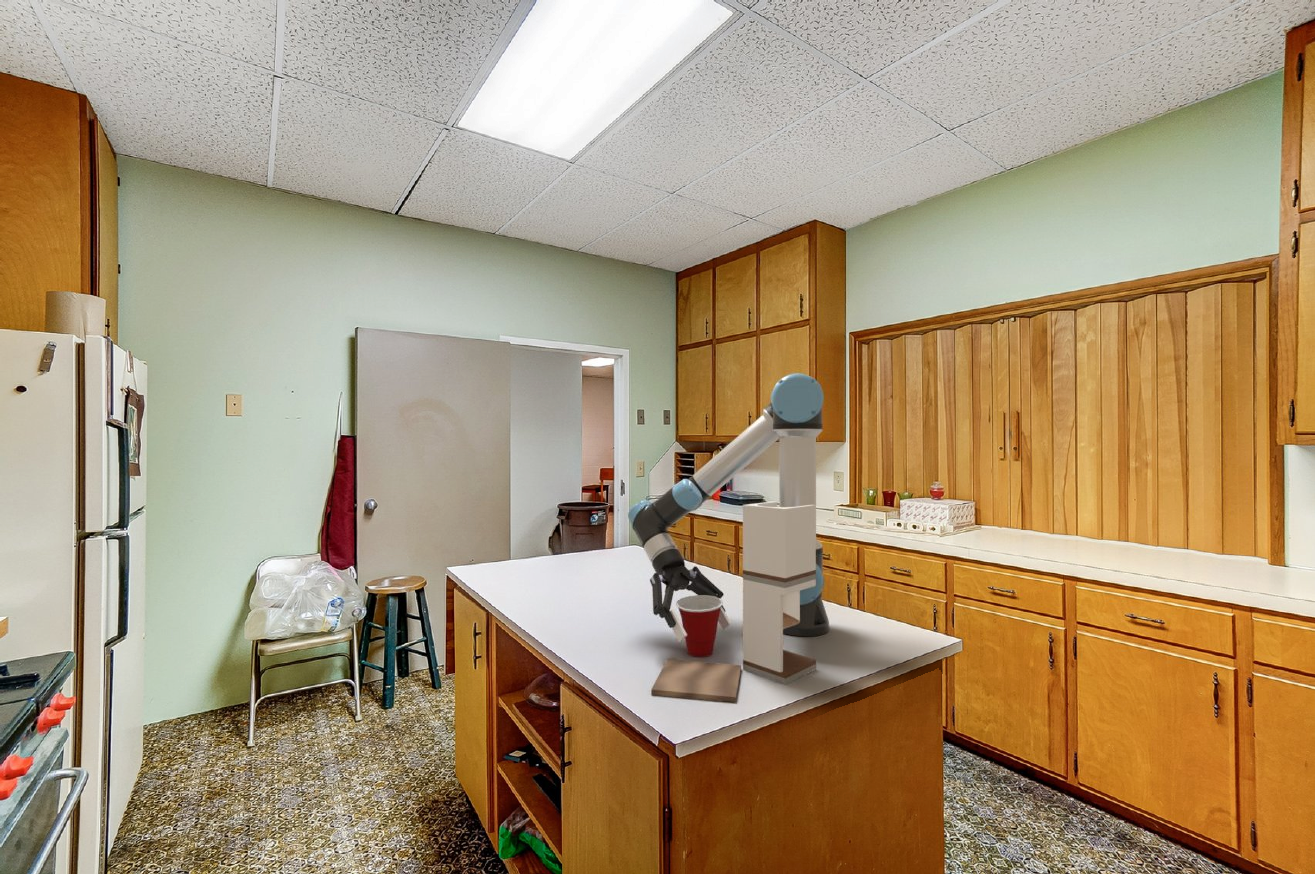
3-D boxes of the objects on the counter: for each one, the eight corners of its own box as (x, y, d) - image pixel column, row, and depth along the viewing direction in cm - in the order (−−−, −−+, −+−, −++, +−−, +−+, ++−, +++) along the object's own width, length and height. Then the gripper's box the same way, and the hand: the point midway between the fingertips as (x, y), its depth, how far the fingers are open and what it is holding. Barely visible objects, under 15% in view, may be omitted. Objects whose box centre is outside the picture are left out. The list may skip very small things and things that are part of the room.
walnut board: (741, 669, 123) (741, 665, 123) (735, 702, 107) (735, 697, 107) (667, 663, 126) (667, 659, 126) (651, 694, 110) (651, 689, 110)
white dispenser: (785, 684, 115) (785, 509, 116) (743, 669, 123) (742, 504, 123) (816, 669, 123) (815, 505, 124) (774, 656, 131) (774, 501, 131)
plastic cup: (666, 653, 133) (666, 600, 133) (697, 641, 140) (697, 592, 140) (701, 665, 125) (701, 610, 125) (732, 653, 133) (732, 600, 133)
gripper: (695, 559, 153) (736, 630, 141) (616, 571, 137) (655, 653, 125) (708, 541, 149) (752, 613, 137) (629, 552, 133) (670, 635, 121)
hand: (706, 632), depth 131 cm, fingers open, 13 cm apart
